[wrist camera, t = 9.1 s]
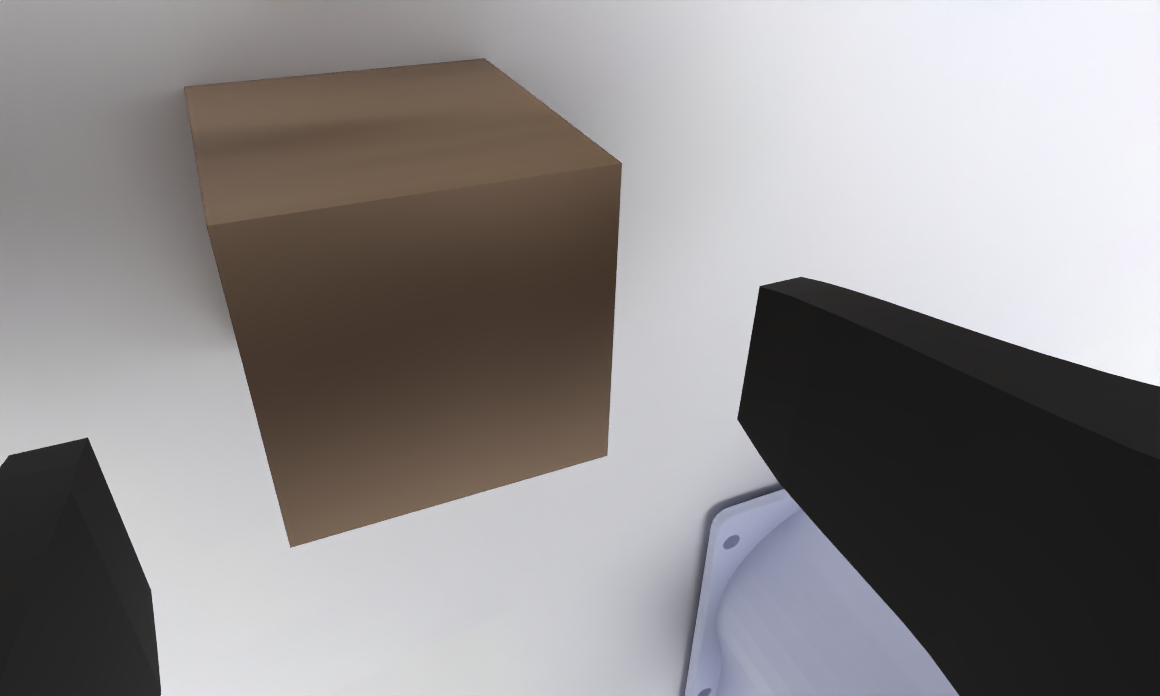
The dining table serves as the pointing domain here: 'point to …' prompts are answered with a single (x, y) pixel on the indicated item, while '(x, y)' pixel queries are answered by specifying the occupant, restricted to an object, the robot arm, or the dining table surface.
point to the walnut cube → (410, 283)
